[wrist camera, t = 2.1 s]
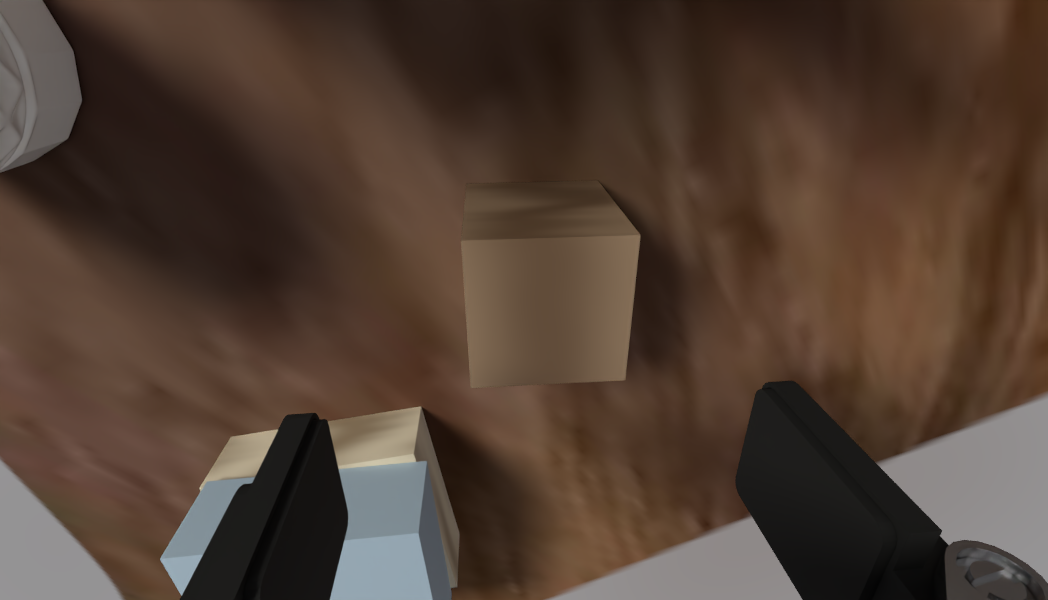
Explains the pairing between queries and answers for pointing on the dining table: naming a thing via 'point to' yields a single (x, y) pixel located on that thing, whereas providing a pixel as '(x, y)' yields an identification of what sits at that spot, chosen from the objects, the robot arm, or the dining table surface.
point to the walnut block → (547, 283)
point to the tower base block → (360, 460)
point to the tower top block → (348, 535)
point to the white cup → (34, 83)
